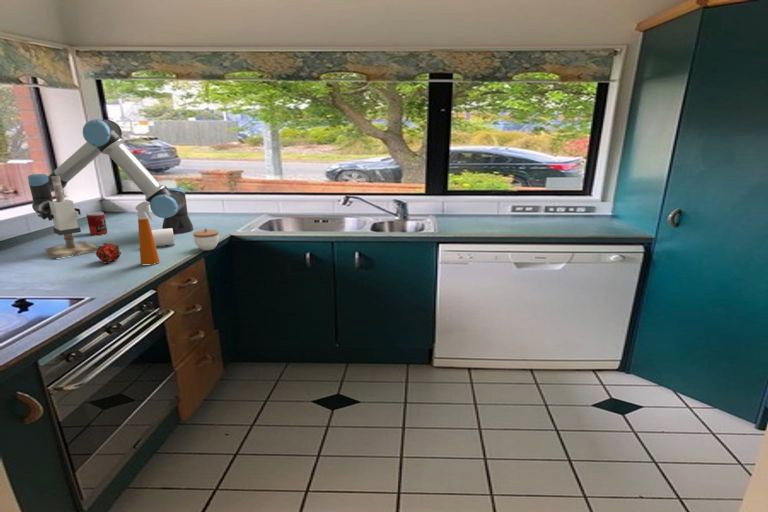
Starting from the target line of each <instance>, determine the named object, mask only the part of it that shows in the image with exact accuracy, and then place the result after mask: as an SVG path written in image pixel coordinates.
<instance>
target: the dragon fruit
mask: <svg viewBox="0 0 768 512" xmlns="http://www.w3.org/2000/svg"><path fill="white" fill-rule="evenodd" d="M97 248H98V249H97V252H95V255H96V257H97V258H98V259H99V260H100V261H101V262H102V263H103V262H109V261H110V262H111V263H112V262H113V261H112V260H116V261H118V259H119V258H120V257H121V255H122V252H121V251H120V248H119V245H117V244H114V243H113V242H109V243H107V242H104V243H102V245H100V246H98V247H97ZM110 262H109V263H110Z"/></svg>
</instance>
